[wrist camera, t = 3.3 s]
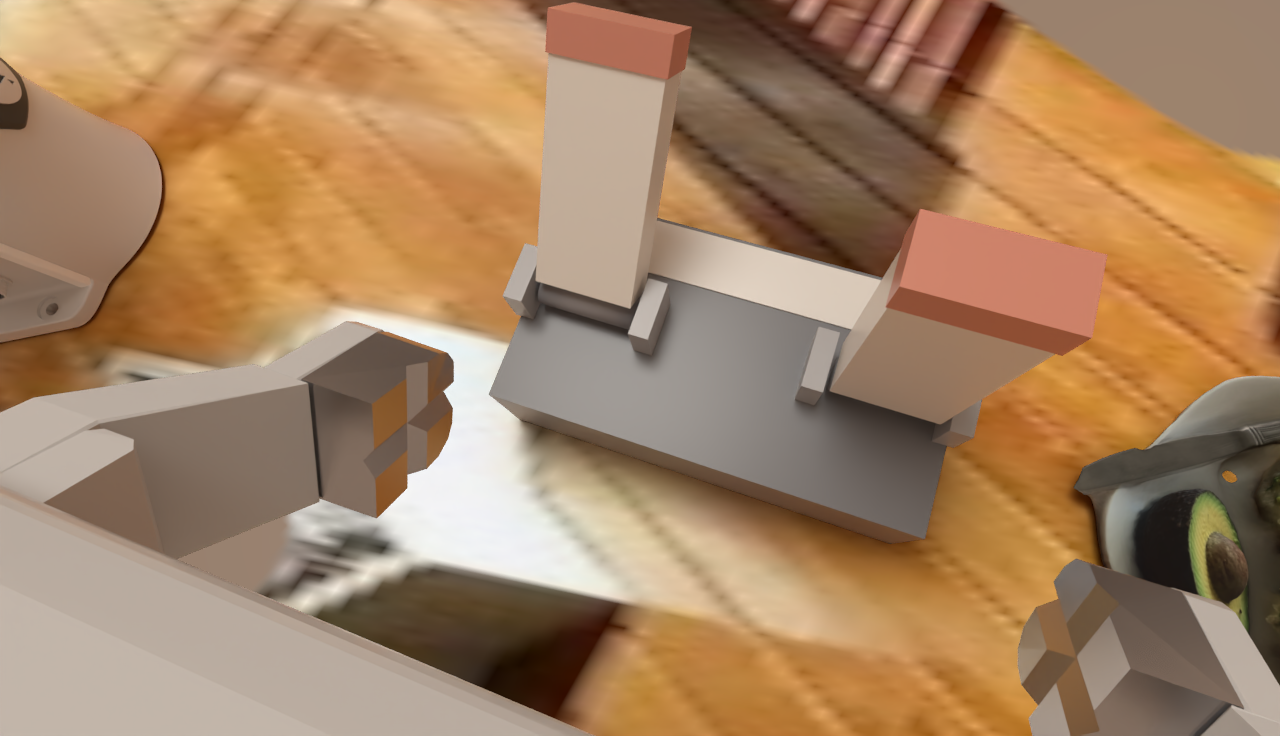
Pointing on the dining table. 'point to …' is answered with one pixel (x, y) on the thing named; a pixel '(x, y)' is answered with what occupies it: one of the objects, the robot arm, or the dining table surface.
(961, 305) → the lever
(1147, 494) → the salad plate
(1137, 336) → the dining table surface
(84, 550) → the robot arm
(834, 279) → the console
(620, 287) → the lever
